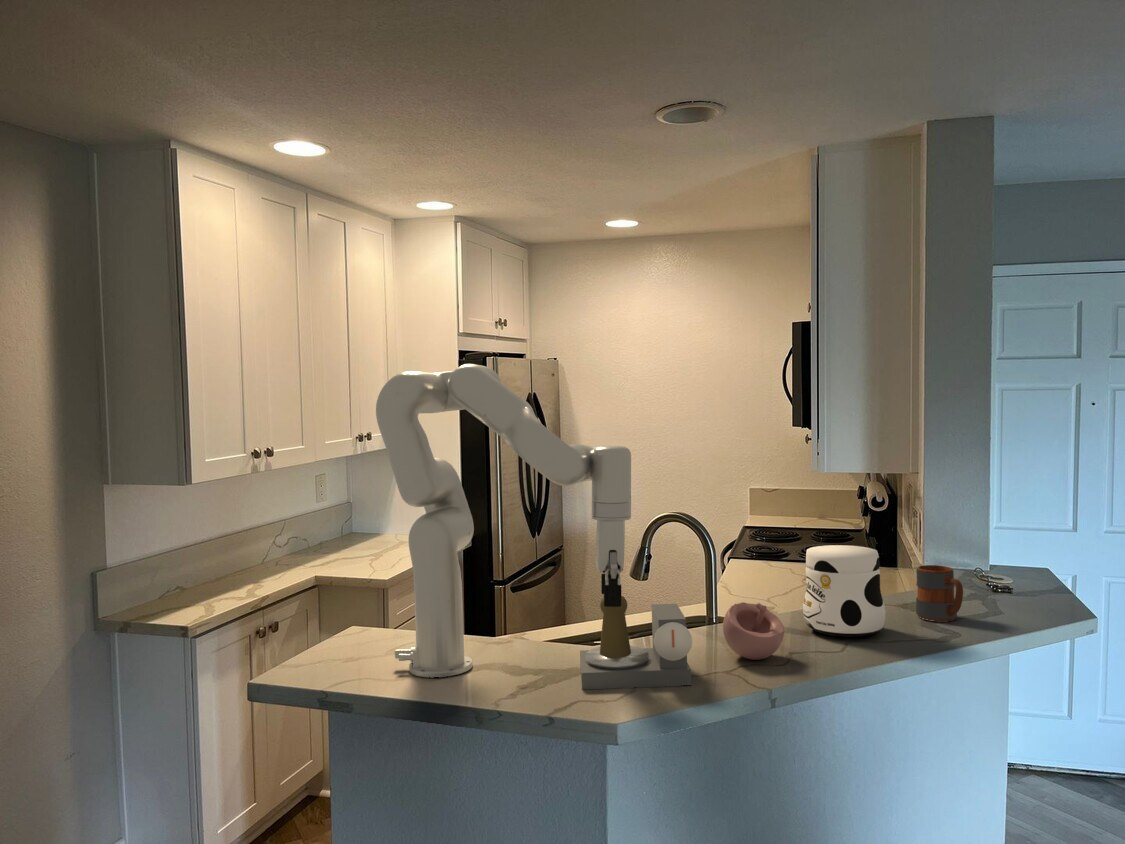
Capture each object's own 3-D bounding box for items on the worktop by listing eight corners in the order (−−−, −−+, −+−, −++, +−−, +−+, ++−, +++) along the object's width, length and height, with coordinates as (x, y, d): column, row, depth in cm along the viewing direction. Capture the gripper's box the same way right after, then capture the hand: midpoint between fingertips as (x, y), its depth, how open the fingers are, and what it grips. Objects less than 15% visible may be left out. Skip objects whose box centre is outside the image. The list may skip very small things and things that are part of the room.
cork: (605, 659, 153) (603, 600, 152) (595, 650, 158) (593, 593, 158) (635, 655, 154) (633, 597, 154) (625, 646, 160) (623, 591, 160)
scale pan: (586, 670, 149) (586, 664, 149) (584, 651, 161) (584, 646, 161) (651, 668, 149) (651, 662, 149) (645, 649, 161) (645, 644, 161)
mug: (948, 628, 180) (946, 575, 180) (907, 616, 192) (906, 566, 191) (977, 623, 183) (976, 571, 183) (936, 612, 194) (935, 563, 194)
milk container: (787, 631, 182) (785, 551, 182) (833, 617, 193) (831, 541, 192) (856, 647, 168) (854, 561, 168) (901, 631, 179) (899, 550, 179)
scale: (581, 689, 148) (579, 623, 148) (580, 665, 162) (578, 605, 162) (694, 685, 148) (692, 620, 148) (682, 662, 162) (680, 602, 162)
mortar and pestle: (755, 671, 155) (753, 611, 155) (711, 657, 165) (709, 601, 165) (797, 659, 162) (796, 602, 162) (753, 646, 172) (751, 592, 172)
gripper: (590, 505, 164) (589, 589, 164) (593, 516, 146) (593, 611, 147) (627, 505, 164) (627, 589, 164) (635, 517, 146) (634, 611, 147)
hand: (611, 600), depth 155 cm, fingers open, 9 cm apart
